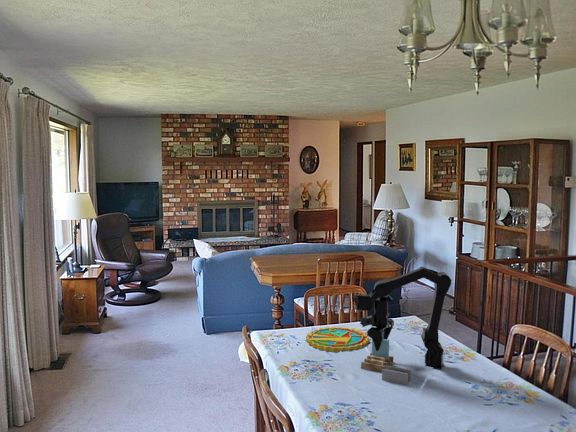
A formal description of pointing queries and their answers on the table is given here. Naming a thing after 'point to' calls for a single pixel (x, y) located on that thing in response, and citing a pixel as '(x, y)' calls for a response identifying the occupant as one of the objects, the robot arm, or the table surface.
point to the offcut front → (377, 358)
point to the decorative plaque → (336, 339)
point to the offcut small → (377, 362)
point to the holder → (396, 374)
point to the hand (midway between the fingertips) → (380, 347)
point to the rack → (375, 367)
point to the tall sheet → (381, 349)
